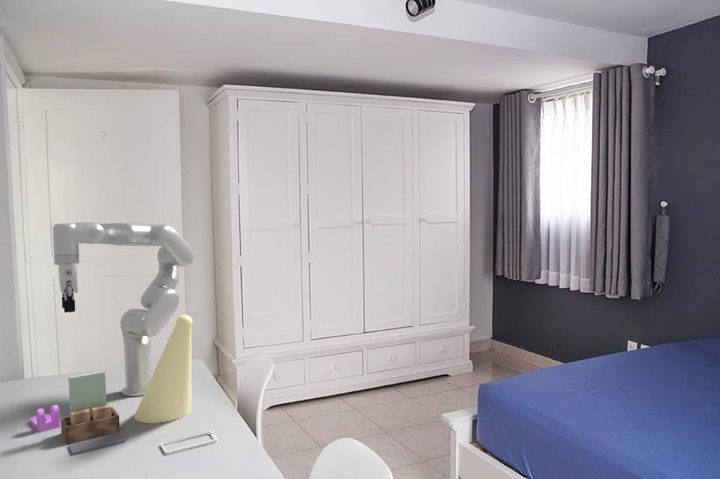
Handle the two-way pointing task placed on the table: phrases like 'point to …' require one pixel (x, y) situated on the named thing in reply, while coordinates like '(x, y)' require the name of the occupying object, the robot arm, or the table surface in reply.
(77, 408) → the green board
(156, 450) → the table surface
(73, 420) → the oak offcut
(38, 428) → the bracket
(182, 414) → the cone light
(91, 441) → the charcoal mat
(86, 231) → the robot arm
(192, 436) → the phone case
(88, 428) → the walnut rack
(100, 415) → the oak offcut
